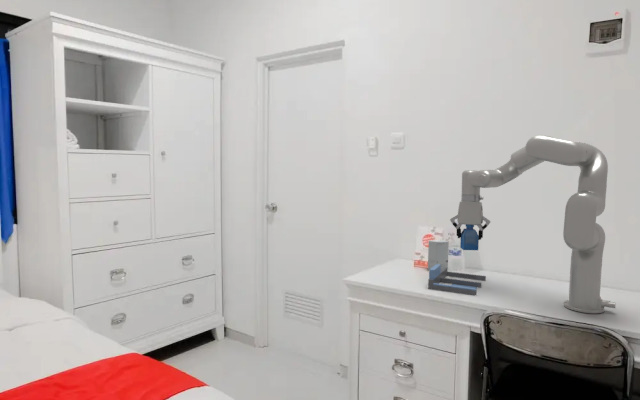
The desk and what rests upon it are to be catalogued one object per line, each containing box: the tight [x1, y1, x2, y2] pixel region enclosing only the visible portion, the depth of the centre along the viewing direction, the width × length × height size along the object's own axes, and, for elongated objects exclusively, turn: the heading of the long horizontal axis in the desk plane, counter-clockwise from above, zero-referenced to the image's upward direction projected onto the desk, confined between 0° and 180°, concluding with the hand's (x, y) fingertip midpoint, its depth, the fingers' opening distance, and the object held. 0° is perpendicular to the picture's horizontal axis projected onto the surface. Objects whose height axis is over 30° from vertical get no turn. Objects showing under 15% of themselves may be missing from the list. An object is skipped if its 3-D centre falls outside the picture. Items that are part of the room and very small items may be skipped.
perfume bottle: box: [459, 225, 480, 251], centre depth 188 cm, size 6×6×12 cm
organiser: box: [427, 264, 487, 296], centre depth 186 cm, size 19×27×8 cm
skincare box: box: [427, 239, 449, 271], centre depth 211 cm, size 8×6×15 cm
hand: (469, 238), depth 188 cm, fingers closed on perfume bottle, 8 cm apart
